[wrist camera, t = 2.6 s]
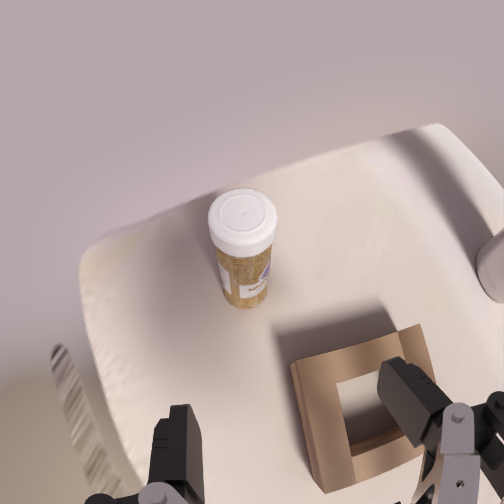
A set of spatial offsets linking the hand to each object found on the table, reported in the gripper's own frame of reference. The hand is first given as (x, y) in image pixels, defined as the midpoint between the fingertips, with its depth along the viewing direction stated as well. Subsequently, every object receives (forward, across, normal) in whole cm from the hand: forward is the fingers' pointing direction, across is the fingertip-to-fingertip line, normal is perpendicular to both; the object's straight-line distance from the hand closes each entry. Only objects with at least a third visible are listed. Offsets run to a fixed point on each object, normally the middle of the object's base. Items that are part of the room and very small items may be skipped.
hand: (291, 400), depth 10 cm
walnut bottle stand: (+9, -9, +14) cm, 19 cm away
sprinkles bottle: (+20, 0, +4) cm, 20 cm away
